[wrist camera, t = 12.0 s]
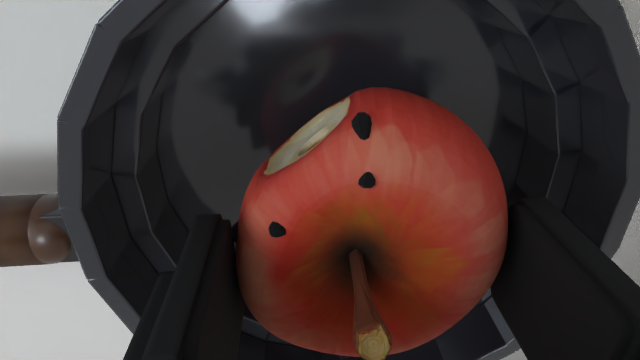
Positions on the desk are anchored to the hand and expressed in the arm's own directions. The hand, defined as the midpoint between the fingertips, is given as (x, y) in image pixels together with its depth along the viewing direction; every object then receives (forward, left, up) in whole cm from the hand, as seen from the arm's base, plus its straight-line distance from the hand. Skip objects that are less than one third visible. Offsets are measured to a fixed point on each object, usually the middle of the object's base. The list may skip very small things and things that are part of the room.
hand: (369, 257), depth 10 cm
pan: (0, 0, -6) cm, 6 cm away
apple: (0, 0, -5) cm, 5 cm away
